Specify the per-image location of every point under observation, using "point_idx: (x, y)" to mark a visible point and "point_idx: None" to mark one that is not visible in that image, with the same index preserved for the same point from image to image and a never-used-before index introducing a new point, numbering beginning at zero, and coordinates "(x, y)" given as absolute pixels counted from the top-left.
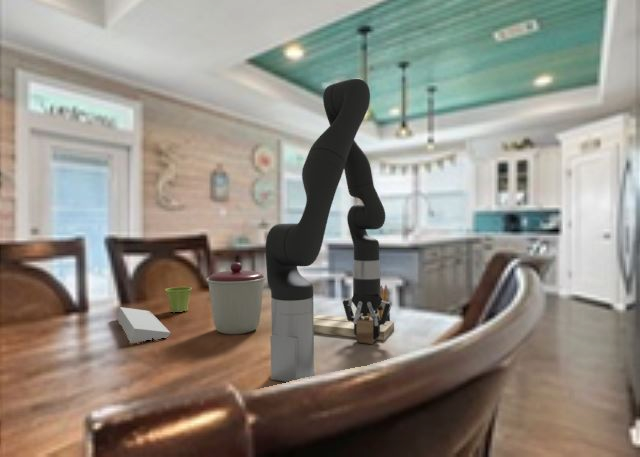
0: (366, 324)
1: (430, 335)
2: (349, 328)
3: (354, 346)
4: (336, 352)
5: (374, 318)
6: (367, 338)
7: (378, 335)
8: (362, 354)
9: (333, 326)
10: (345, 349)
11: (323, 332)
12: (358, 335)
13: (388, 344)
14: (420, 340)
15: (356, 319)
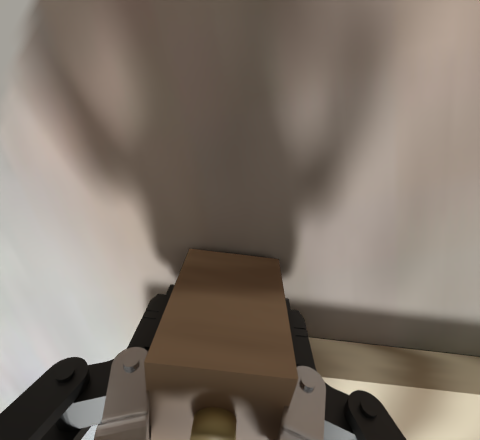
0: (204, 342)
1: (8, 396)
2: (340, 378)
3: (282, 204)
4: (390, 49)
5: (127, 411)
6: (212, 267)
7: (151, 302)
8: (202, 56)
9: (435, 392)
10: (330, 135)
11: (468, 360)
12: (270, 282)
13: (117, 272)
14: (11, 343)
15: (302, 404)
